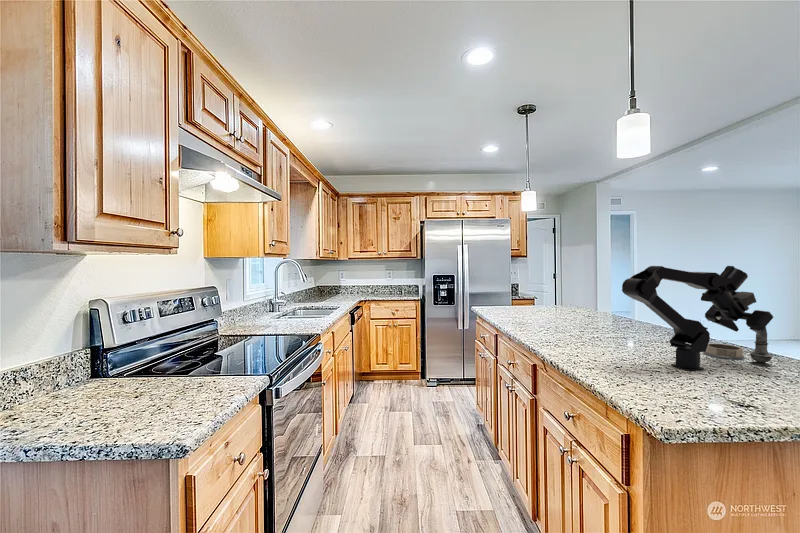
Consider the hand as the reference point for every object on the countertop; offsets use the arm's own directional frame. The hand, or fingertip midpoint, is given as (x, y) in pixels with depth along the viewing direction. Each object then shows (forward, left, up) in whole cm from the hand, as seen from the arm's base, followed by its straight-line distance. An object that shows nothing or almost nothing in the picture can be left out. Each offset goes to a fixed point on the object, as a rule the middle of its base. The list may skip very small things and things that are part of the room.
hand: (751, 333), depth 131 cm
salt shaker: (+4, 0, -11) cm, 12 cm away
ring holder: (+4, +12, -11) cm, 16 cm away
